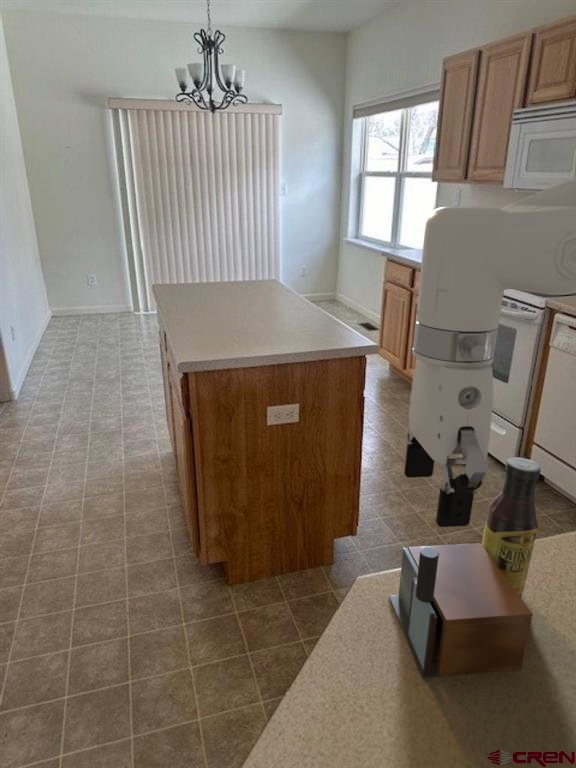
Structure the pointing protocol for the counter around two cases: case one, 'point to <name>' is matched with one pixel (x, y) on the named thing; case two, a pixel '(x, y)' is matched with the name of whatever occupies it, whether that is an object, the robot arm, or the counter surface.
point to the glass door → (423, 608)
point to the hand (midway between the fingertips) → (433, 498)
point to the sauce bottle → (513, 522)
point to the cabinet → (467, 612)
